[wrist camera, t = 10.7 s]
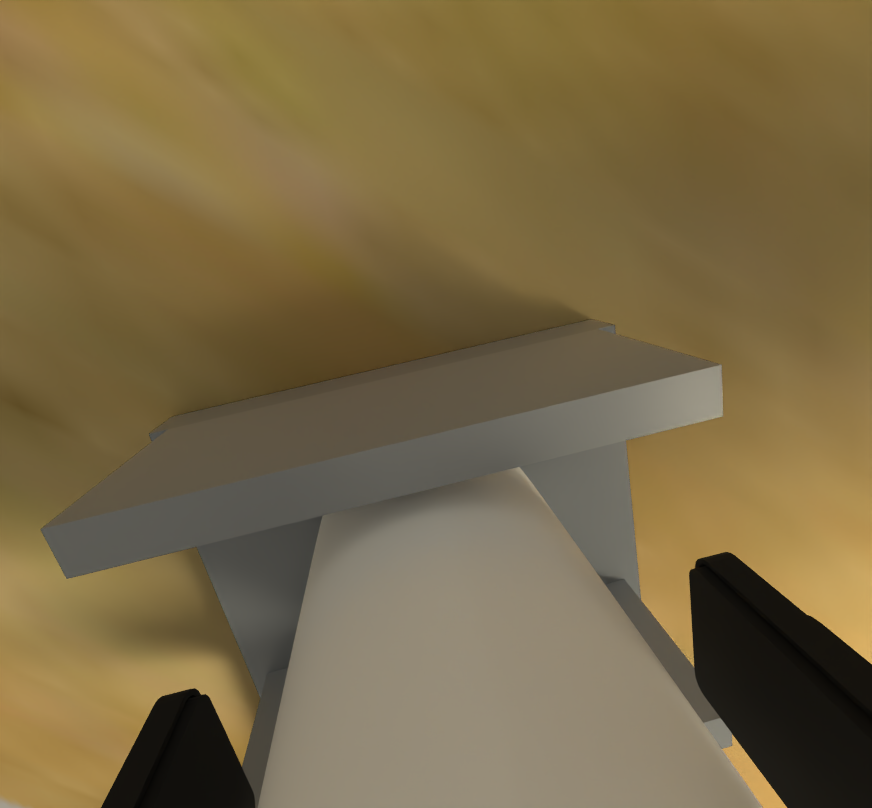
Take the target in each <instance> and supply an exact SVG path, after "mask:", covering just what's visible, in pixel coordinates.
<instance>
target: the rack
mask: <svg viewBox="0 0 872 808" xmlns="http://www.w3.org/2000/svg"><path fill="white" fill-rule="evenodd" d="M719 417H723V394H722V365H721V364H718V363H714V362H711V361H707V360H704V359H700V358H697V357H693V356H690V355H686V354H683V353H680V352H676V351H673V350H669V349H666V348H662V347H659V346H655V345H652V344H648V343H645V342H641V341H638V340H635V339H631V338H628V337H624V336H621V335H617V334H616V332H615V325H613V324H609V323H605V322H601V321H597V320H593V319H590V320H586V321H581V322H577V323H573V324H569V325H564V326H560V327H556V328H551V329H547V330H543V331H538V332H534V333H530V334H526V335H521V336H517V337H513V338H508V339H504V340H500V341H495V342H491V343H487V344H483V345H478V346H474V347H470V348H465V349H461V350H457V351H452V352H448V353H444V354H440V355H435V356H431V357H427V358H422V359H418V360H414V361H409V362H405V363H401V364H397V365H392V366H388V367H384V368H379V369H375V370H371V371H366V372H362V373H358V374H354V375H349V376H345V377H341V378H336V379H332V380H328V381H323V382H319V383H315V384H311V385H306V386H302V387H298V388H293V389H289V390H285V391H280V392H276V393H272V394H268V395H263V396H259V397H255V398H250V399H246V400H242V401H237V402H233V403H229V404H225V405H220V406H216V407H212V408H207V409H203V410H199V411H194V412H190V413H186V414H182V415H177V416H173V417H171V418H170V419H168V420H167V421H165V422H164V423H163V424H161V425H160V426H159V427H157V428H156V429H155V430H153V431H152V432H151V433H149V436H150V438H151V441H152V442H151V443H150V444H148V445H147V446H146V447H145V448H143V449H142V450H141V451H139V452H138V453H137V454H136V455H134V456H133V457H132V458H131V459H129V460H128V461H127V462H125V463H124V464H123V465H122V466H120V467H119V468H118V469H117V470H115V471H114V472H113V473H111V474H110V475H109V476H108V477H106V478H105V479H104V480H102V481H101V482H100V483H99V484H97V485H96V486H95V487H94V488H92V489H91V490H90V491H88V492H87V493H86V494H85V495H83V496H82V497H81V498H80V499H78V500H77V501H76V502H74V503H73V504H72V505H71V506H69V507H68V508H67V509H65V510H64V511H63V512H62V513H60V514H59V515H58V516H57V517H55V518H54V519H53V520H51V521H50V522H49V523H48V524H46V525H45V526H44V527H43V528H41V529H40V530H41V531H42V533H43V535H44V537H45V539H46V541H47V543H48V545H49V547H50V548H51V550H52V552H53V554H54V556H55V558H56V560H57V562H58V563H59V565H60V567H61V569H62V571H63V573H64V575H65V577H66V578H67V579H68V578H72V577H76V576H80V575H85V574H89V573H93V572H97V571H101V570H105V569H109V568H113V567H117V566H121V565H125V564H129V563H133V562H137V561H141V560H145V559H149V558H153V557H157V556H161V555H165V554H169V553H173V552H177V551H181V550H185V549H190V548H194V547H197V549H198V552H199V554H200V556H201V559H202V561H203V564H204V566H205V568H206V571H207V573H208V575H209V578H210V580H211V582H212V585H213V587H214V590H215V592H216V594H217V597H218V599H219V601H220V604H221V606H222V608H223V611H224V613H225V616H226V618H227V620H228V623H229V625H230V627H231V630H232V632H233V634H234V637H235V639H236V642H237V644H238V646H239V649H240V651H241V653H242V656H243V658H244V660H245V663H246V665H247V668H248V670H249V672H250V675H251V677H252V679H253V682H254V684H255V687H256V689H257V691H258V694H259V696H260V702H259V706H258V709H257V713H256V717H255V720H254V724H253V728H252V732H251V735H250V739H249V743H248V746H247V750H246V754H245V758H244V761H243V765H242V769H243V771H244V773H245V775H246V777H247V779H248V782H249V784H250V786H251V788H252V790H253V793H254V797H255V808H258V803H259V799H260V794H261V789H262V785H263V780H264V776H265V771H266V766H267V762H268V757H269V753H270V748H271V743H272V739H273V734H274V730H275V725H276V721H277V716H278V711H279V707H280V702H281V698H282V693H283V689H284V684H285V680H286V675H287V670H288V666H289V661H290V657H291V652H292V648H293V643H294V639H295V634H296V630H297V625H298V621H299V616H300V612H301V607H302V603H303V598H304V594H305V589H306V585H307V580H308V576H309V571H310V567H311V563H312V558H313V554H314V549H315V545H316V541H317V536H318V532H319V528H320V524H321V520H322V516H323V515H327V514H331V513H335V512H339V511H343V510H347V509H351V508H355V507H359V506H363V505H367V504H371V503H375V502H379V501H383V500H387V499H391V498H395V497H400V496H404V495H408V494H412V493H416V492H420V491H424V490H428V489H432V488H436V487H440V486H444V485H448V484H452V483H456V482H460V481H464V480H468V479H472V478H476V477H480V476H484V475H488V474H492V473H496V472H500V471H505V470H509V469H513V468H517V467H520V468H521V469H522V471H523V472H524V473H525V475H526V476H527V477H528V478H529V480H530V481H531V482H532V484H533V485H534V486H535V488H536V489H537V491H538V492H539V493H540V495H541V496H542V497H543V499H544V500H545V502H546V503H547V504H548V506H549V507H550V508H551V510H552V511H553V513H554V514H555V515H556V517H557V518H558V520H559V521H560V522H561V524H562V525H563V526H564V528H565V529H566V531H567V532H568V533H569V535H570V536H571V538H572V539H573V540H574V542H575V543H576V545H577V546H578V547H579V549H580V550H581V552H582V553H583V554H584V556H585V557H586V559H587V560H588V561H589V563H590V564H591V566H592V567H593V568H594V570H595V571H596V573H597V574H598V575H599V577H600V578H601V580H602V581H603V582H604V584H605V585H606V587H607V588H608V589H609V591H610V592H611V594H612V595H613V596H614V598H615V599H616V601H617V602H618V603H619V605H620V606H621V608H622V609H623V610H624V612H625V613H626V615H627V616H628V617H629V619H630V620H631V622H632V623H633V624H634V626H635V627H636V629H637V630H638V631H639V633H640V634H641V636H642V637H643V638H644V640H645V641H646V643H647V644H648V645H649V647H650V648H651V650H652V651H653V653H654V654H655V655H656V657H657V658H658V660H659V661H660V662H661V664H662V665H663V667H664V668H665V669H666V671H667V672H668V674H669V675H670V677H671V678H672V679H673V681H674V682H675V684H676V685H677V686H678V688H679V689H680V691H681V692H682V693H683V695H684V696H685V698H686V699H687V701H688V702H689V703H690V705H691V706H692V708H693V709H694V710H695V712H696V713H697V715H698V716H699V717H700V719H701V720H702V722H703V723H704V725H705V726H706V727H707V729H708V730H709V732H710V733H711V734H712V736H713V737H714V739H715V740H716V741H717V743H718V744H719V746H720V747H721V749H723V748H726V747H730V746H732V733H731V731H730V730H729V729H728V727H727V726H726V725H725V723H724V722H723V721H722V719H721V718H720V717H719V715H718V714H717V713H716V711H715V710H714V709H713V707H712V706H711V705H710V703H709V702H708V701H707V699H706V698H705V696H704V695H703V693H702V692H701V690H700V688H699V686H698V683H697V680H696V677H695V668H694V667H693V666H692V664H691V663H690V662H689V661H688V659H687V658H686V657H685V655H684V654H683V653H682V652H681V650H680V649H679V648H678V647H677V645H676V644H675V643H674V641H673V640H672V639H671V638H670V636H669V635H668V634H667V633H666V631H665V630H664V629H663V628H662V626H661V625H660V624H659V622H658V621H657V620H656V619H655V617H654V616H653V615H652V614H651V612H650V611H649V610H648V608H647V607H646V606H645V605H644V603H643V602H642V601H641V595H640V584H639V574H638V563H637V552H636V542H635V531H634V521H633V510H632V500H631V489H630V479H629V468H628V458H627V447H626V440H630V439H634V438H638V437H642V436H646V435H650V434H654V433H658V432H662V431H666V430H670V429H674V428H678V427H682V426H686V425H690V424H694V423H698V422H702V421H706V420H710V419H715V418H719Z"/></svg>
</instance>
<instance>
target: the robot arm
mask: <svg viewBox="0 0 872 808" xmlns="http://www.w3.org/2000/svg"><path fill="white" fill-rule="evenodd" d="M689 579H690V597H691V614H692V632H693V649H694V667H695V677H696V680H697V683H698V686H699V688H700V690H701V692H702V693H703V695H704V696H705V698H706V699H707V701H708V702H709V703H710V705H711V706H712V707H713V709H714V710H715V711H716V713H717V714H718V715H719V717H720V718H721V719H722V721H723V722H724V723H725V725H726V726H727V727H728V729H729V730H730V731H731V733H732V734H733V735H734V737H735V738H736V739H737V741H738V742H739V744H740V745H741V746H742V748H743V749H744V750H745V752H746V753H747V754H748V756H749V757H750V758H751V760H752V761H753V762H754V764H755V765H756V766H757V768H758V769H759V770H760V772H761V773H762V774H763V776H764V777H765V778H766V780H767V781H768V782H769V784H770V785H771V786H772V788H773V789H774V790H775V792H776V793H777V794H778V796H779V797H780V798H781V800H782V801H783V802H784V804H785V805H786V807H787V808H872V664H870V663H869V662H868V661H867V660H866V659H864V658H863V657H862V656H861V655H859V654H858V653H857V652H856V651H855V650H853V649H852V648H851V647H850V646H848V645H847V644H846V643H845V642H843V641H842V640H841V639H840V638H839V637H837V636H836V635H835V634H834V633H832V632H831V631H830V630H829V629H828V628H826V627H825V626H824V625H823V624H821V623H820V622H819V621H817V620H816V619H814V618H813V617H811V616H809V615H806V614H805V613H804V612H803V611H801V610H800V609H799V608H798V607H797V606H795V605H794V604H793V603H792V602H790V601H789V600H788V599H787V598H786V597H784V596H783V595H782V594H781V593H780V592H778V591H777V590H776V589H775V588H773V587H772V586H771V585H770V584H769V583H767V582H766V581H765V580H764V579H763V578H761V577H760V576H759V575H758V574H757V573H755V572H754V571H753V570H752V569H750V568H749V567H748V566H747V565H746V564H744V563H743V562H742V561H741V560H740V559H738V558H737V557H736V556H735V555H733V554H731V553H729V552H724V553H720V554H716V555H713V556H709V557H705V558H701V559H698V560H697V561H696V565H695V569H692V570H690V573H689ZM101 808H255V797H254V793H253V790H252V788H251V786H250V784H249V782H248V779H247V777H246V775H245V773H244V771H243V769H242V766H241V764H240V762H239V760H238V758H237V756H236V754H235V751H234V749H233V747H232V745H231V743H230V741H229V738H228V736H227V734H226V732H225V730H224V728H223V726H222V723H221V721H220V719H219V717H218V715H217V713H216V711H215V708H214V706H213V704H212V702H211V700H210V698H209V697H208V696H207V695H206V694H205V695H201V694H200V693H199V691H198V690H196V689H195V688H194V689H189V690H185V691H181V692H177V693H173V694H169V695H165V696H162V697H161V698H159V699H158V700H157V702H156V703H155V705H154V706H153V708H152V710H151V712H150V714H149V716H148V718H147V720H146V722H145V724H144V726H143V728H142V730H141V731H140V733H139V735H138V737H137V739H136V741H135V743H134V745H133V747H132V749H131V751H130V753H129V755H128V757H127V759H126V760H125V762H124V764H123V766H122V768H121V770H120V772H119V774H118V776H117V778H116V780H115V782H114V784H113V786H112V788H111V789H110V791H109V793H108V795H107V797H106V799H105V801H104V803H103V805H102V807H101Z"/></svg>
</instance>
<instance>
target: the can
mask: <svg viewBox="0 0 872 808" xmlns="http://www.w3.org/2000/svg"><path fill="white" fill-rule="evenodd" d="M258 808H763V807H762V806H761V804H760V803H759V801H758V800H757V798H756V797H755V796H754V794H753V793H752V791H751V790H750V788H749V787H748V786H747V784H746V783H745V781H744V780H743V778H742V777H741V776H740V774H739V773H738V771H737V770H736V768H735V767H734V766H733V764H732V763H731V761H730V760H729V759H728V757H727V756H726V754H725V753H724V751H723V750H722V749H721V747H720V746H719V744H718V743H717V741H716V740H715V739H714V737H713V736H712V734H711V733H710V732H709V730H708V729H707V727H706V726H705V725H704V723H703V722H702V720H701V719H700V717H699V716H698V715H697V713H696V712H695V710H694V709H693V708H692V706H691V705H690V703H689V702H688V701H687V699H686V698H685V696H684V695H683V693H682V692H681V691H680V689H679V688H678V686H677V685H676V684H675V682H674V681H673V679H672V678H671V677H670V675H669V674H668V672H667V671H666V669H665V668H664V667H663V665H662V664H661V662H660V661H659V660H658V658H657V657H656V655H655V654H654V653H653V651H652V650H651V648H650V647H649V645H648V644H647V643H646V641H645V640H644V638H643V637H642V636H641V634H640V633H639V631H638V630H637V629H636V627H635V626H634V624H633V623H632V622H631V620H630V619H629V617H628V616H627V615H626V613H625V612H624V610H623V609H622V608H621V606H620V605H619V603H618V602H617V601H616V599H615V598H614V596H613V595H612V594H611V592H610V591H609V589H608V588H607V587H606V585H605V584H604V582H603V581H602V580H601V578H600V577H599V575H598V574H597V573H596V571H595V570H594V568H593V567H592V566H591V564H590V563H589V561H588V560H587V559H586V557H585V556H584V554H583V553H582V552H581V550H580V549H579V547H578V546H577V545H576V543H575V542H574V540H573V539H572V538H571V536H570V535H569V533H568V532H567V531H566V529H565V528H564V526H563V525H562V524H561V522H560V521H559V520H558V518H557V517H556V515H555V514H554V513H553V511H552V510H551V508H550V507H549V506H548V504H547V503H546V502H545V500H544V499H543V497H542V496H541V495H540V493H539V492H538V491H537V489H536V488H535V486H534V485H533V484H532V482H531V481H530V480H529V478H528V477H527V476H526V475H525V473H524V472H523V471H522V469H521V468H520V467H517V468H513V469H509V470H505V471H500V472H496V473H492V474H488V475H484V476H480V477H476V478H472V479H468V480H464V481H460V482H456V483H452V484H448V485H444V486H440V487H436V488H432V489H428V490H424V491H420V492H416V493H412V494H408V495H404V496H400V497H395V498H391V499H387V500H383V501H379V502H375V503H371V504H367V505H363V506H359V507H355V508H351V509H347V510H343V511H339V512H335V513H331V514H327V515H323V516H322V520H321V524H320V528H319V532H318V536H317V541H316V545H315V549H314V554H313V558H312V563H311V567H310V571H309V576H308V580H307V585H306V589H305V594H304V598H303V603H302V607H301V612H300V616H299V621H298V625H297V630H296V634H295V639H294V643H293V648H292V652H291V657H290V661H289V666H288V670H287V675H286V680H285V684H284V689H283V693H282V698H281V702H280V707H279V711H278V716H277V721H276V725H275V730H274V734H273V739H272V743H271V748H270V753H269V757H268V762H267V766H266V771H265V776H264V780H263V785H262V789H261V794H260V799H259V803H258Z"/></svg>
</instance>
